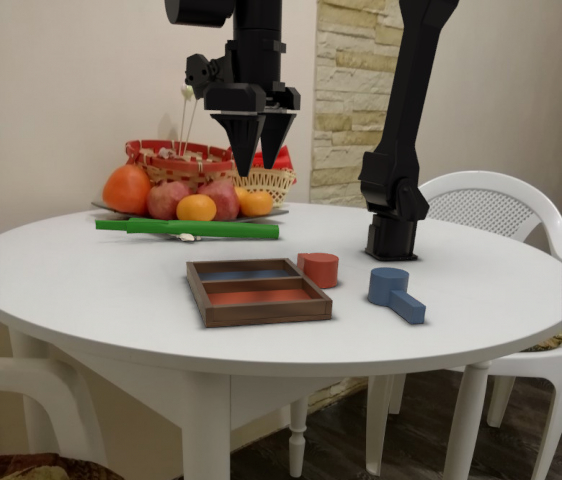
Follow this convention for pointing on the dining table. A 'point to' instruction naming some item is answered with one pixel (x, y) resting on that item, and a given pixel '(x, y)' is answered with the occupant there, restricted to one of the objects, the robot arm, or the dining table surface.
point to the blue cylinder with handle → (395, 293)
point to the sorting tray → (255, 292)
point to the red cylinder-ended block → (319, 268)
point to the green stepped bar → (191, 228)
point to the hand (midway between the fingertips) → (256, 172)
